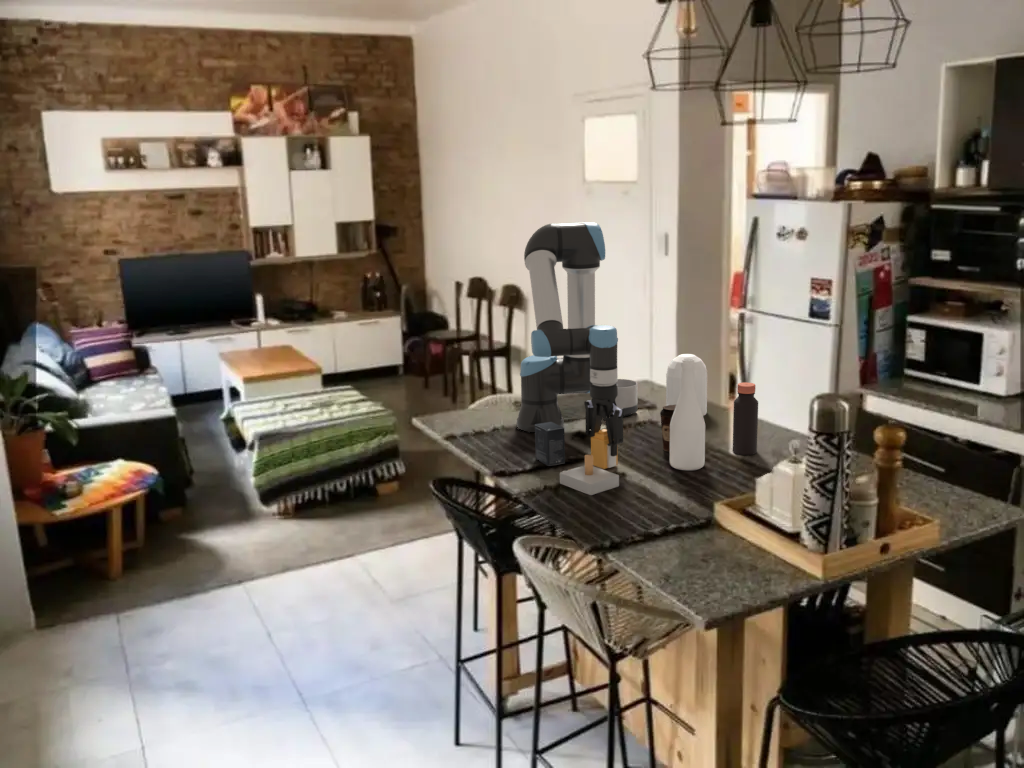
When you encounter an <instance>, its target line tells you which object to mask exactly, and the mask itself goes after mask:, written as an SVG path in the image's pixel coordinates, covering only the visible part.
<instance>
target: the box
mask: <svg viewBox="0 0 1024 768" xmlns="http://www.w3.org/2000/svg"><path fill="white" fill-rule="evenodd" d="M534 444H535V448H534V449H535V450H534V451H535V460H537V461H538V460H539V462H540V463H542V464H544V465H545V466H548V467H551V466H557V465H562V464H566V443H565V427H564V426H563V427H561V426H559V425H557V424H555V423H553V422H547V423H540V424H535V433H534Z"/></svg>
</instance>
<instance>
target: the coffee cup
mask: <svg viewBox="0 0 1024 768" xmlns="http://www.w3.org/2000/svg"><path fill="white" fill-rule="evenodd" d="M675 407H676V405H668V406H666V405H663V406H662V409H661V410H660V413H659V414H660V424H661V425H660V426H661V439H662V447H663V450H664V451H665V452H668V453H670V422H671V419H672V416H673V413H674V410H675Z"/></svg>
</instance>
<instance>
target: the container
mask: <svg viewBox="0 0 1024 768" xmlns="http://www.w3.org/2000/svg"><path fill="white" fill-rule="evenodd" d="M683 359H694V361H695V368H694V388H695V394H696V397H697V400H698V403H699V406H700V409H701V412H702V415H703V417H704V416H706V415H707V413H708V412H707V411H708V410H707V409H708V406H707V405H708V369H707V365H706V364H705V362H704V361H703V360H702V358H700V357H699V356H698V355H696V354H693V353H682V354H679V355H677V356H676V357H674V358H672V360H670V361H671V362H670V363H669V364H668V366H667V370H666V373H665V377H666V380H665V381H666V382H665V383H666V385H665V387H666V389H665V391H666V393H665V400H666V401H665V406H668V405H677V402H678V399H679V396H680V393H681V388H682V367H681V362H682V360H683Z"/></svg>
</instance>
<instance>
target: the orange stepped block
mask: <svg viewBox="0 0 1024 768" xmlns="http://www.w3.org/2000/svg"><path fill="white" fill-rule="evenodd" d="M613 440H614V439H613ZM607 444H609V440H608V434H607V429H606V428H603V429H600V430H599V432H597V433H595V436H593V437H591V438H590V455H593V466H594V467H597V468H600V469H603V470H606V469H609V468H608V467H607ZM618 445H619V444H618ZM618 445H617V456H616V466H618V464H619V463H618V459H619V457H618V456H619V455H618V454H619V453H618V449H619V447H618Z"/></svg>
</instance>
